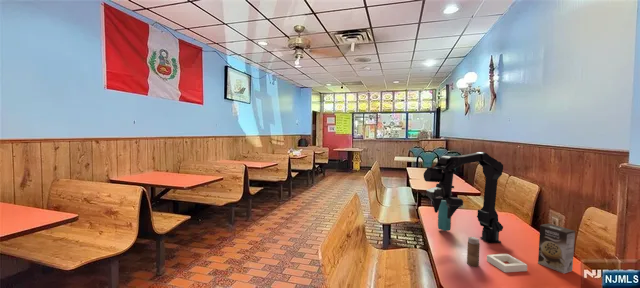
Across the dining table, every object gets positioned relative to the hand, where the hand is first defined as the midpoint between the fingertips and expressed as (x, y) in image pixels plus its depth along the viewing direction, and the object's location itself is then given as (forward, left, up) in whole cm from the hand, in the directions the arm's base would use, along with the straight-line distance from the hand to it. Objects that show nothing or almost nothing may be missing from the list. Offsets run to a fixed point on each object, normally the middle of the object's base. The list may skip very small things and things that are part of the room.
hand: (442, 215), depth 127 cm
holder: (-15, +21, -14) cm, 30 cm away
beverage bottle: (-12, -16, -14) cm, 25 cm away
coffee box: (-34, +25, -15) cm, 44 cm away
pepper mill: (-2, +19, -14) cm, 24 cm away
